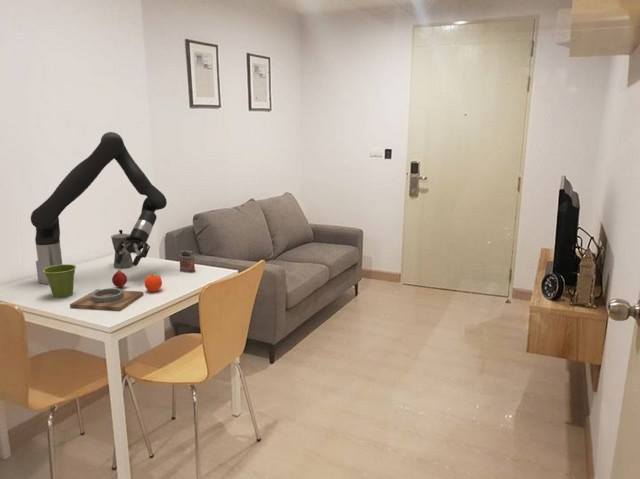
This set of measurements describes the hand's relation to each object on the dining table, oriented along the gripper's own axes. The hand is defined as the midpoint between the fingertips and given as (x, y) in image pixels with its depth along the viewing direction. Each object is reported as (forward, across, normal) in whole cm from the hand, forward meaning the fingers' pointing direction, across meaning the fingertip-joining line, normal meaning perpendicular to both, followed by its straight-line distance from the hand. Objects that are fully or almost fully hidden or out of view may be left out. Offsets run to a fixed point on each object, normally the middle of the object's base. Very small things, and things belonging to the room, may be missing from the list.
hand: (125, 264), depth 215 cm
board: (+20, +7, -7) cm, 23 cm away
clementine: (+9, +16, +5) cm, 19 cm away
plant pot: (+20, -16, -7) cm, 27 cm away
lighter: (-12, +13, +25) cm, 31 cm away
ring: (+19, +7, -8) cm, 22 cm away
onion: (+10, 0, +3) cm, 11 cm away
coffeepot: (-10, -20, +23) cm, 32 cm away
